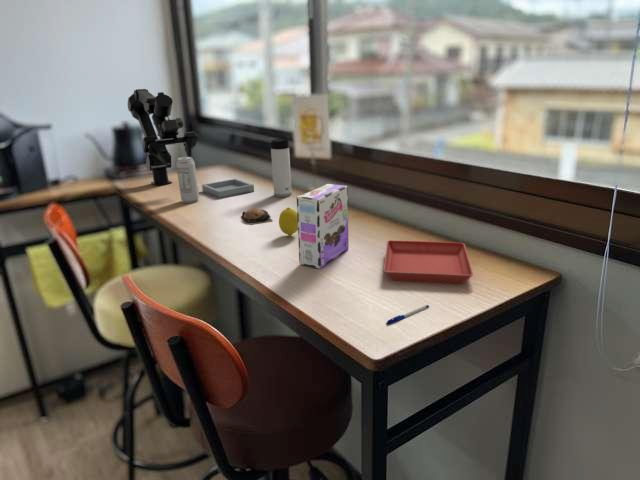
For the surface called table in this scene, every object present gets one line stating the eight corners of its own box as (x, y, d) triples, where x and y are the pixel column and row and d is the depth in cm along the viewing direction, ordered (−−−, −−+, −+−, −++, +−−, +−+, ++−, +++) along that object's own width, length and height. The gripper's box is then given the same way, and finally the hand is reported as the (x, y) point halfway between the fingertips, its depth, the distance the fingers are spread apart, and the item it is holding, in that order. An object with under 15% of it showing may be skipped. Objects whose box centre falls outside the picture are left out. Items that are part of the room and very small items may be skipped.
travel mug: (292, 197, 166) (288, 139, 159) (273, 197, 166) (269, 139, 159) (293, 192, 172) (290, 136, 165) (275, 193, 172) (271, 137, 165)
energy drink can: (203, 200, 166) (197, 157, 161) (190, 204, 162) (184, 160, 156) (190, 198, 169) (185, 156, 164) (177, 202, 165) (171, 159, 159)
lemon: (303, 233, 130) (301, 205, 128) (295, 240, 126) (294, 211, 123) (284, 231, 132) (282, 204, 129) (276, 238, 127) (274, 209, 125)
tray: (202, 191, 178) (201, 184, 177) (236, 184, 186) (235, 178, 185) (219, 198, 167) (218, 191, 167) (254, 191, 175) (253, 184, 174)
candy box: (320, 269, 107) (317, 199, 102) (298, 264, 110) (294, 196, 105) (349, 249, 118) (348, 184, 112) (329, 245, 121) (327, 182, 115)
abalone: (275, 223, 142) (274, 211, 140) (247, 227, 139) (246, 215, 137) (264, 213, 151) (264, 202, 150) (238, 217, 148) (237, 206, 147)
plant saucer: (472, 289, 97) (473, 274, 96) (383, 285, 100) (383, 270, 99) (463, 255, 113) (464, 242, 112) (386, 252, 116) (387, 240, 115)
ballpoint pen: (389, 327, 84) (389, 322, 83) (385, 325, 84) (385, 320, 84) (429, 308, 90) (429, 303, 89) (425, 306, 90) (426, 301, 90)
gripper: (138, 113, 160) (153, 149, 156) (192, 108, 170) (207, 143, 165) (136, 134, 169) (150, 170, 164) (187, 129, 179) (202, 162, 174)
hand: (178, 160), depth 167 cm, fingers open, 9 cm apart
